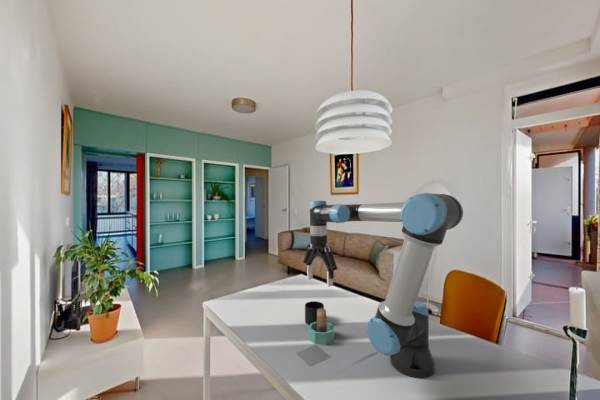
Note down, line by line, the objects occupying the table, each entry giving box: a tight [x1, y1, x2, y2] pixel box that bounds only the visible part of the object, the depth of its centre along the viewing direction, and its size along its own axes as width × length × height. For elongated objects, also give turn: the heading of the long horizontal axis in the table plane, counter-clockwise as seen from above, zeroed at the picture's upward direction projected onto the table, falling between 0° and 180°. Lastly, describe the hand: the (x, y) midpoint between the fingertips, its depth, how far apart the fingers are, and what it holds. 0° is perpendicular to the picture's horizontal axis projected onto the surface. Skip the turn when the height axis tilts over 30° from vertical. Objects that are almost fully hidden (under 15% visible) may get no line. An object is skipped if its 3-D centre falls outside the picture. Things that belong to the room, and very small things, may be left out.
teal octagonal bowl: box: [308, 321, 335, 346], centre depth 111 cm, size 11×11×6 cm
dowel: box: [317, 308, 327, 333], centre depth 111 cm, size 4×4×12 cm
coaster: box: [295, 344, 332, 367], centre depth 99 cm, size 10×10×1 cm
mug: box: [304, 300, 327, 326], centre depth 126 cm, size 9×12×9 cm
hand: (319, 282), depth 113 cm, fingers open, 13 cm apart
